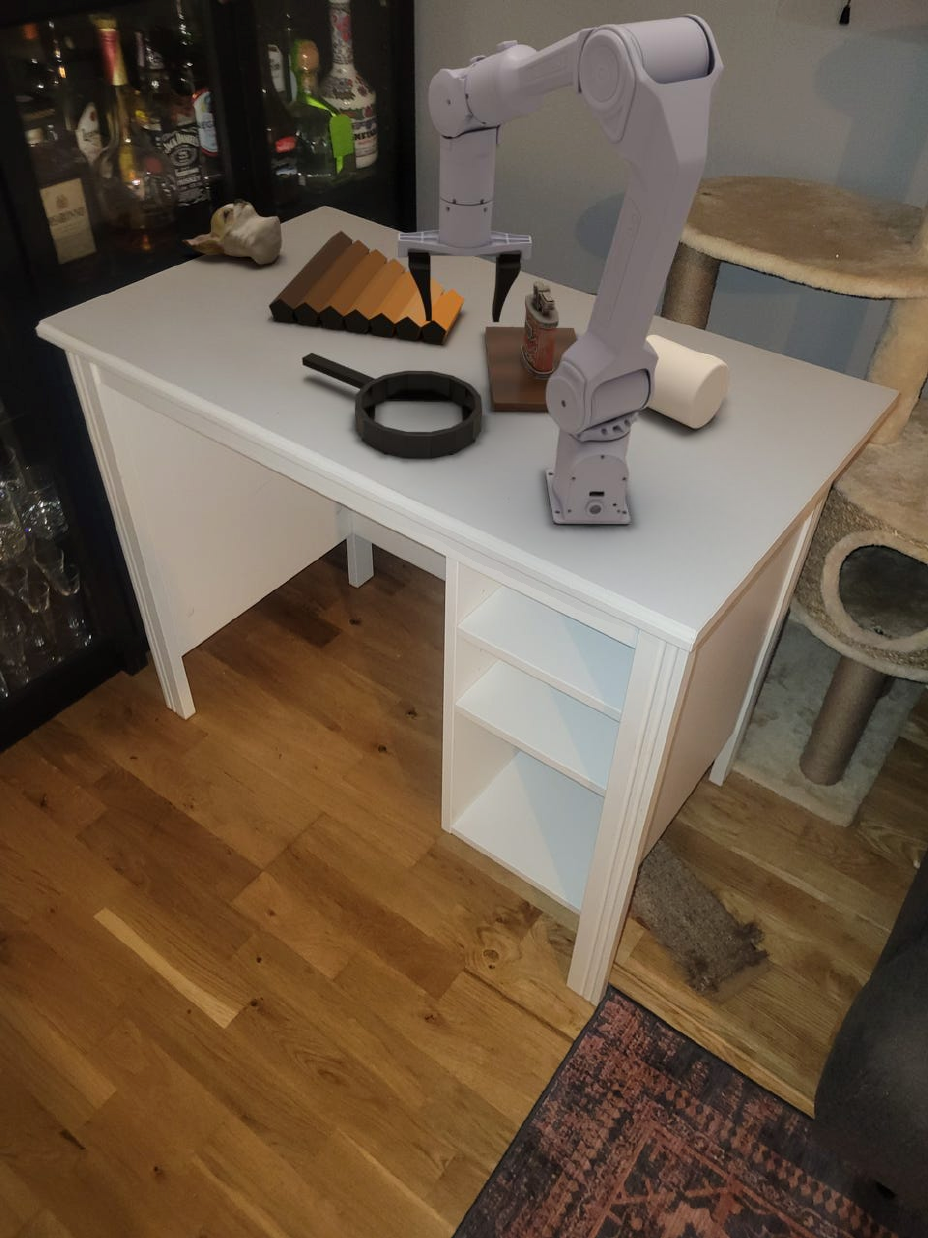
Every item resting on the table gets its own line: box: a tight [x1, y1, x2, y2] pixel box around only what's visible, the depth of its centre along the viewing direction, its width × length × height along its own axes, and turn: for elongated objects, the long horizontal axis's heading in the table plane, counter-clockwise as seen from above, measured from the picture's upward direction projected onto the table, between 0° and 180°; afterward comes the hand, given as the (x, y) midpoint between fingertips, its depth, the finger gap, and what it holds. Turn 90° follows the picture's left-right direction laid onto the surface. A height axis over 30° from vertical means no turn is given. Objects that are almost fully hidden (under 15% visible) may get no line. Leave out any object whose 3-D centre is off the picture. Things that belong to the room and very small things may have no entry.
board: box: [484, 326, 578, 413], centre depth 122 cm, size 20×12×1 cm, turn 2°
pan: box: [301, 352, 483, 459], centre depth 112 cm, size 19×22×3 cm
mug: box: [646, 334, 731, 429], centre depth 115 cm, size 12×10×8 cm
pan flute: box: [268, 230, 465, 346], centre depth 136 cm, size 25×3×25 cm
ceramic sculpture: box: [182, 198, 283, 265], centre depth 143 cm, size 11×9×15 cm
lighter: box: [521, 280, 560, 379], centre depth 118 cm, size 8×3×10 cm, turn 12°
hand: (462, 317), depth 110 cm, fingers open, 7 cm apart
